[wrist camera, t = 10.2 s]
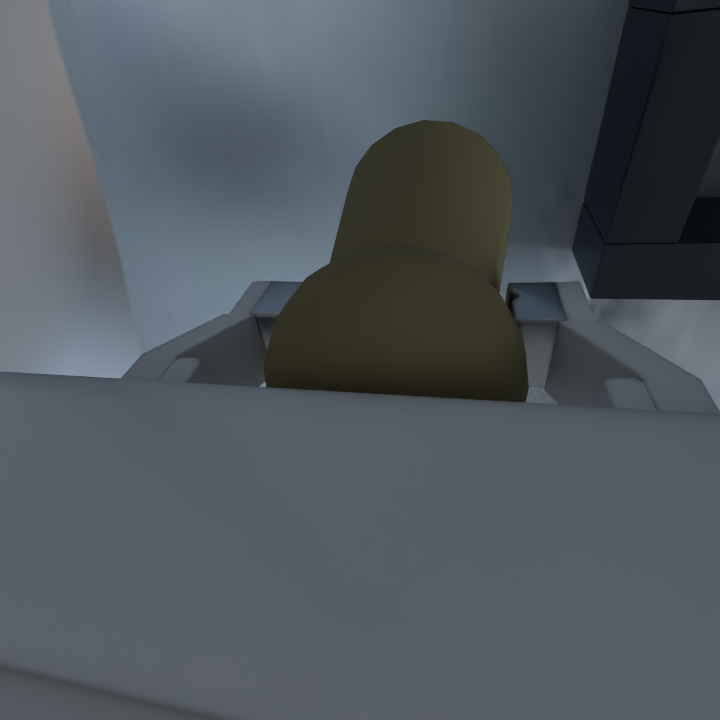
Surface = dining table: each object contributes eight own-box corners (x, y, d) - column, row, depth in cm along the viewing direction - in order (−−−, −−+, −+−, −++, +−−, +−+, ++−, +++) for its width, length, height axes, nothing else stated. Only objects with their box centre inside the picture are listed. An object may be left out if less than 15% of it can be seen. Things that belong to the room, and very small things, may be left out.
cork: (357, 286, 18) (265, 518, 10) (334, 130, 15) (158, 291, 6) (506, 283, 17) (542, 549, 9) (521, 109, 13) (609, 281, 5)
